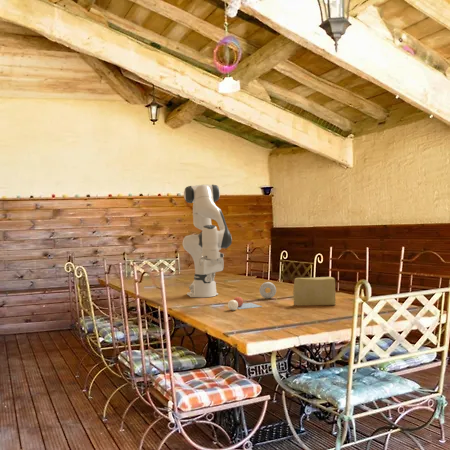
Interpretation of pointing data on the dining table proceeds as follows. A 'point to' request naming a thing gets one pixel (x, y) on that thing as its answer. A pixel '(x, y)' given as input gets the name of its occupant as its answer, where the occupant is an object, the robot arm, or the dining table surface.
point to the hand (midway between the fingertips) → (211, 281)
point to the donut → (267, 285)
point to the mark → (248, 306)
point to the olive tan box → (314, 291)
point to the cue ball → (232, 305)
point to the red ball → (239, 301)
